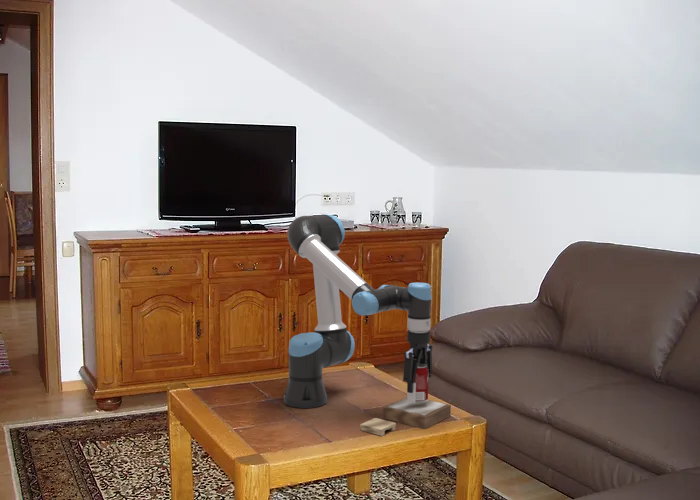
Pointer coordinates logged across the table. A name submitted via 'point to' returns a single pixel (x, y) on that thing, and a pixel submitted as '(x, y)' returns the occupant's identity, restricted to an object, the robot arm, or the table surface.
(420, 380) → the soda can
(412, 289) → the robot arm
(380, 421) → the plate
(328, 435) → the table surface
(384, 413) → the dock
